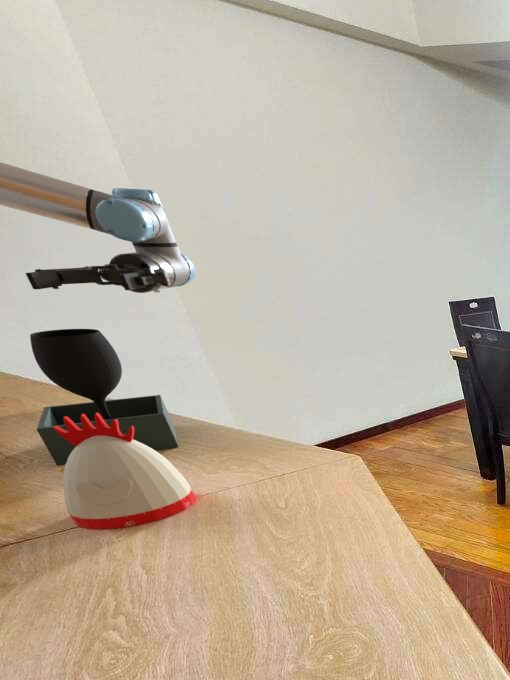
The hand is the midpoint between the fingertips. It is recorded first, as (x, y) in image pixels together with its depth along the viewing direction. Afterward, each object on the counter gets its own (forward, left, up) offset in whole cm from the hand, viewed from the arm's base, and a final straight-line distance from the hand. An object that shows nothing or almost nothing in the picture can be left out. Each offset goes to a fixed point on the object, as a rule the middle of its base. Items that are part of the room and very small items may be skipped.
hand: (78, 281), depth 109 cm
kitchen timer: (+48, -2, -28) cm, 56 cm away
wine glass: (+9, -4, -28) cm, 29 cm away
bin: (+9, -4, -28) cm, 30 cm away
